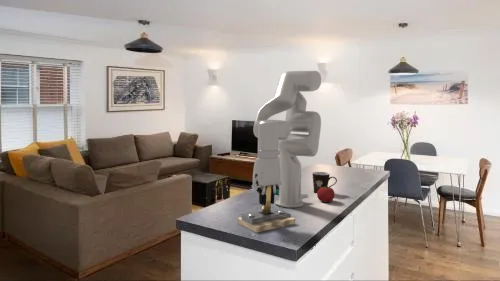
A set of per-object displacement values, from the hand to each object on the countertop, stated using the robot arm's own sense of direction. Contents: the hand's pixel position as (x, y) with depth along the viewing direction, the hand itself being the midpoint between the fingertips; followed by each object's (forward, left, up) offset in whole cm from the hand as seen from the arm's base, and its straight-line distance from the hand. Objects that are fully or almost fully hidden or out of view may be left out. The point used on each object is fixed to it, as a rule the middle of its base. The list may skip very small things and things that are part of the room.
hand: (266, 203), depth 139 cm
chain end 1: (+2, 0, -6) cm, 6 cm away
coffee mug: (-53, -23, -8) cm, 59 cm away
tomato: (-43, -11, -8) cm, 45 cm away
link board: (0, 0, -8) cm, 8 cm away
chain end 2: (-3, 0, -6) cm, 6 cm away
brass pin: (0, 0, -3) cm, 3 cm away
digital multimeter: (-35, -36, -8) cm, 51 cm away
